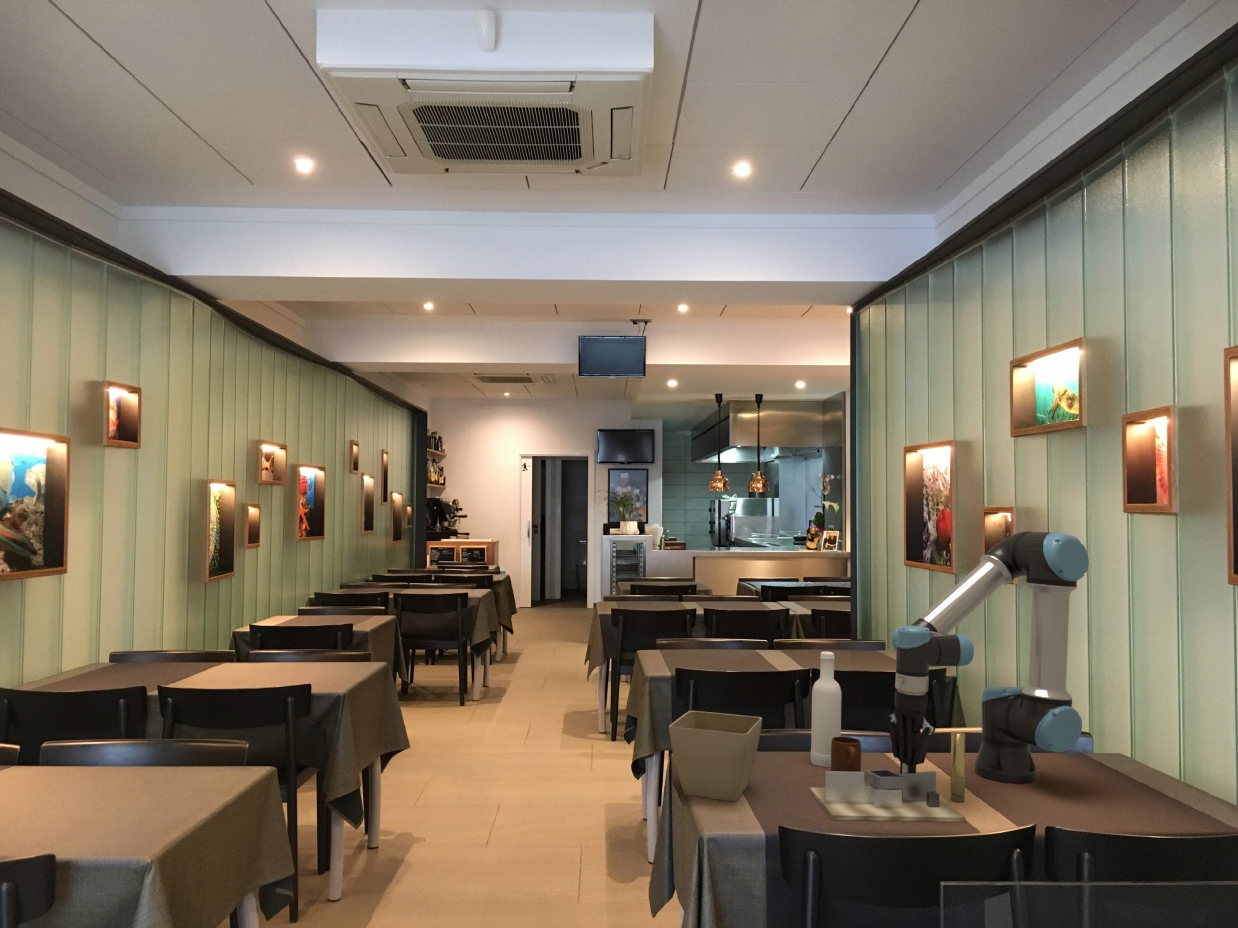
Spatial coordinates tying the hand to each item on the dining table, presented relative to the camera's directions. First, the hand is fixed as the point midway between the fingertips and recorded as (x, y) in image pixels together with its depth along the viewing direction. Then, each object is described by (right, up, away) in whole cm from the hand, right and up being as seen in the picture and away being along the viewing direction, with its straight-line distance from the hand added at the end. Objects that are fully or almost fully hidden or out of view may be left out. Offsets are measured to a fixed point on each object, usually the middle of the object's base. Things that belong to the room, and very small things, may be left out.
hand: (907, 790), depth 216 cm
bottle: (-13, -4, +31) cm, 33 cm away
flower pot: (-46, -2, +3) cm, 46 cm away
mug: (-10, -3, +17) cm, 20 cm away
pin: (+13, -3, +2) cm, 13 cm away
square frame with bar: (-2, -1, -4) cm, 4 cm away
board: (-7, -2, -4) cm, 8 cm away
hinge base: (-8, -1, -5) cm, 10 cm away
